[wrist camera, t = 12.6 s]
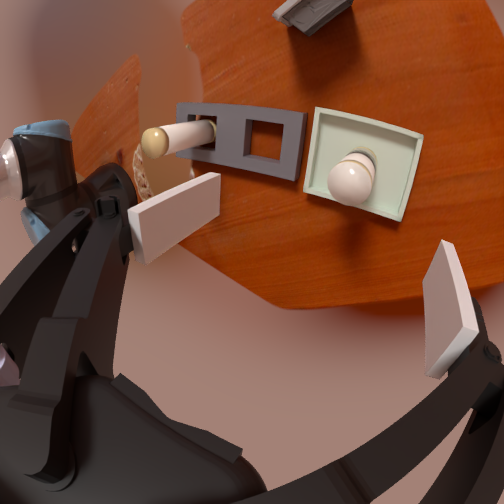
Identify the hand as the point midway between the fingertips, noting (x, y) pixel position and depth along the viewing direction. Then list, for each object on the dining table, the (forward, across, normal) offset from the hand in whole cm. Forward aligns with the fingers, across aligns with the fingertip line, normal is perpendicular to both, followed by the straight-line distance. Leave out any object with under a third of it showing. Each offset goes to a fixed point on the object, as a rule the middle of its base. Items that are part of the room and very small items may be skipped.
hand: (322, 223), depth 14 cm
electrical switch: (+22, -7, +19) cm, 30 cm away
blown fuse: (+21, 0, 0) cm, 21 cm away
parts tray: (+22, 0, 0) cm, 22 cm away
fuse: (+22, -23, 0) cm, 31 cm away
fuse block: (+22, -18, 0) cm, 28 cm away
